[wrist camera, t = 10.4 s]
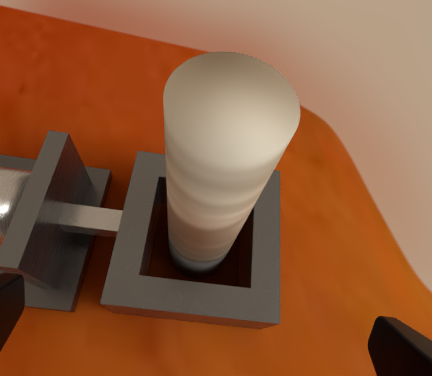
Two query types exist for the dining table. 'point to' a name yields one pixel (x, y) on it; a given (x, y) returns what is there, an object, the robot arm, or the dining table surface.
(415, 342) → the robot arm
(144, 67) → the dining table surface
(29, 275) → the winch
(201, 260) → the white upright cylinder
